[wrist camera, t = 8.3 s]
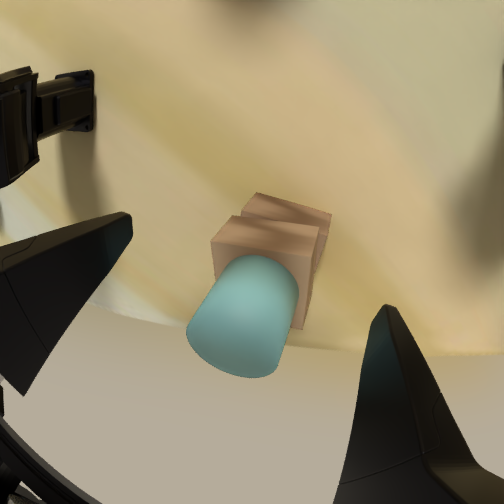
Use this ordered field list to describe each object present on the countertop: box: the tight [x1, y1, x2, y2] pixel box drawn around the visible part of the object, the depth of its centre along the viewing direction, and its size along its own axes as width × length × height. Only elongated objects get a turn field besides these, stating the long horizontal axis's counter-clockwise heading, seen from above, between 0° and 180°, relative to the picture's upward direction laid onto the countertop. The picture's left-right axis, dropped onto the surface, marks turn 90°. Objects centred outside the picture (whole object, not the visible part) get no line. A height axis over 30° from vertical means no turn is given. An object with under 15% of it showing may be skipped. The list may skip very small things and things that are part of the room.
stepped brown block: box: [210, 215, 319, 330], centre depth 19 cm, size 6×6×4 cm
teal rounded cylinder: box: [186, 255, 299, 378], centre depth 16 cm, size 5×5×5 cm
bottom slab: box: [241, 192, 332, 273], centre depth 22 cm, size 6×6×4 cm
